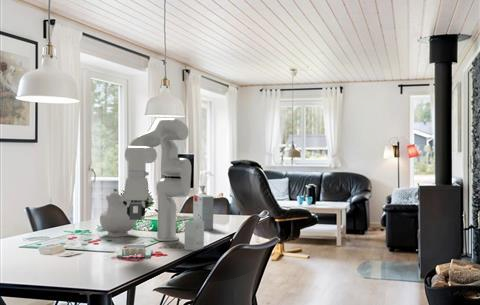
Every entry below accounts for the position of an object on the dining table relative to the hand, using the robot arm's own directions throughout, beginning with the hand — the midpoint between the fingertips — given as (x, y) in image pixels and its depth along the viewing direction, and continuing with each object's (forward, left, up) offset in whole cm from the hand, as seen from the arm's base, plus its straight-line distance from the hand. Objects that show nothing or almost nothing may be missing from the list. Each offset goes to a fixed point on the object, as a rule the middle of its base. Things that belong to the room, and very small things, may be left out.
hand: (135, 215), depth 225 cm
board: (0, 0, -17) cm, 17 cm away
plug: (0, 0, -2) cm, 2 cm away
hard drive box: (-80, +32, -17) cm, 88 cm away
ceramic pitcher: (-54, -15, -17) cm, 59 cm away
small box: (-14, +26, -17) cm, 34 cm away
